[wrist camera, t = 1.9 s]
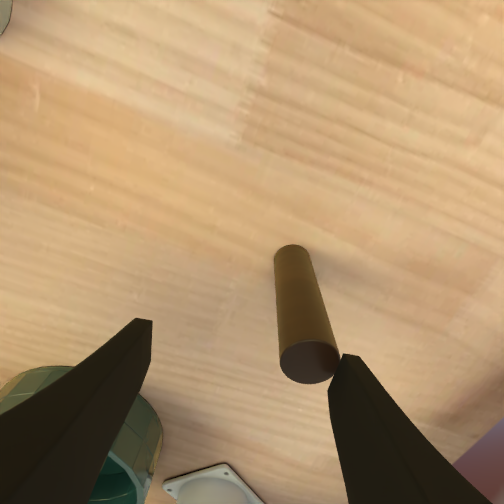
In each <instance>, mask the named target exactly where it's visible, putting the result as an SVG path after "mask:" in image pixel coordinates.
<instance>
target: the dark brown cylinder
mask: <svg viewBox="0 0 504 504" xmlns="http://www.w3.org/2000/svg"><path fill="white" fill-rule="evenodd" d="M274 271H275V289H276V306H277V323H278V341H279V358H280V367H281V369H282V371H283V373H284V374H285V375H286V376H287V377H288V378H290V379H291V380H293V381H295V382H298V383H302V384H316V383H320V382H323V381H326V380H328V379H329V378H331V377H332V376H333V375H334V374H335V372H336V369H337V367H338V365H339V362H340V354H339V351H338V348H337V344H336V341H335V338H334V335H333V331H332V328H331V325H330V321H329V318H328V315H327V312H326V308H325V305H324V302H323V298H322V295H321V292H320V289H319V285H318V282H317V279H316V276H315V272H314V269H313V266H312V262H311V259H310V256H309V253H308V252H307V251H306V250H305V249H304V248H303V247H301V246H298V245H287V246H284V247H283V248H281V249H280V250H279V251H278V252H277V253H276V255H275V258H274Z"/></svg>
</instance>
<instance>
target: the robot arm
mask: <svg viewBox="0 0 504 504" xmlns="http://www.w3.org/2000/svg"><path fill="white" fill-rule="evenodd" d="M152 323H153V321H152V320H146V319H140V318H135V319H133V320H132V321H131V322H130V323H129V324H128V325H126V326H125V327H124V328H123V329H122V330H121V331H119V332H118V333H117V334H116V335H115V336H114V337H112V338H111V339H110V340H109V341H108V342H106V343H105V344H104V345H103V346H101V347H100V348H99V349H98V350H96V351H95V352H94V353H93V354H91V355H90V356H89V357H88V358H86V359H85V360H84V361H82V362H81V363H79V364H78V365H77V366H75V367H74V368H73V369H71V370H70V371H68V372H67V373H66V374H64V375H63V376H62V377H60V378H59V379H57V380H56V381H54V382H53V383H51V384H50V385H48V386H47V387H45V388H44V389H42V390H41V391H39V392H37V393H36V394H34V395H33V396H31V397H29V398H28V399H26V400H25V401H23V402H21V403H20V404H18V405H16V406H14V407H13V408H11V409H9V410H8V411H6V412H4V413H2V414H1V415H0V504H87V503H88V501H89V498H90V496H91V493H92V491H93V488H94V486H95V483H96V481H97V478H98V476H99V473H100V471H101V468H102V466H103V464H104V462H105V459H106V457H107V455H108V453H109V451H110V449H111V447H112V445H113V443H114V441H115V439H116V437H117V435H118V433H119V431H120V429H121V427H122V425H123V423H124V421H125V419H126V417H127V415H128V413H129V411H130V409H131V407H132V405H133V403H134V401H135V399H136V397H137V395H138V393H139V391H140V389H141V386H142V384H143V381H144V378H145V376H146V373H147V370H148V367H149V365H150V362H151V345H152ZM327 391H328V402H329V412H330V420H331V424H332V429H333V433H334V438H335V443H336V447H337V451H338V456H339V460H340V465H341V469H342V473H343V478H344V482H345V486H346V492H347V497H348V502H349V504H492V503H491V502H490V501H489V500H488V499H487V498H486V497H484V496H483V495H482V494H481V493H480V492H479V491H478V490H477V489H476V488H475V487H473V486H472V484H470V483H469V482H468V481H467V480H466V479H465V478H464V477H463V476H462V475H461V474H460V473H459V472H458V471H457V470H456V469H455V468H454V467H453V466H452V465H451V464H450V463H449V462H448V461H447V460H446V459H445V458H444V457H443V456H442V455H441V454H440V453H439V452H438V451H437V450H436V449H435V447H434V446H433V445H432V444H431V443H430V442H429V441H428V440H427V439H426V438H425V437H424V435H423V434H422V433H421V432H420V431H419V430H418V429H417V427H416V426H415V425H414V424H413V423H412V422H411V421H410V419H409V418H408V417H407V416H406V415H405V414H404V412H403V411H402V410H401V409H400V407H399V406H398V405H397V404H396V403H395V401H394V400H393V399H392V398H391V396H390V395H389V394H388V393H387V391H386V390H385V389H384V387H383V386H382V385H381V384H380V382H379V381H378V380H377V378H376V377H375V376H374V374H373V373H372V372H371V371H370V369H369V368H368V367H367V365H366V364H365V363H364V362H363V360H362V359H361V358H360V357H359V356H355V355H350V354H344V353H343V355H342V358H341V360H340V362H339V365H338V367H337V369H336V372H335V374H334V376H333V379H332V381H331V383H330V386H329V388H328V390H327ZM162 488H163V489H164V490H165V491H166V492H167V493H169V494H170V495H171V496H172V497H173V498H174V499H175V500H177V503H176V504H264V503H263V502H262V501H261V500H260V499H259V498H258V497H257V496H256V494H255V493H254V492H253V491H252V490H251V489H250V488H249V487H248V486H247V485H246V484H245V483H244V482H243V481H242V480H241V479H240V478H239V477H238V475H237V474H236V473H235V472H234V471H233V470H232V469H231V468H230V467H229V466H228V465H226V464H221V465H217V466H214V467H211V468H207V469H204V470H201V471H197V472H194V473H191V474H187V475H184V476H181V477H177V478H174V479H171V480H167V481H165V482H163V485H162Z"/></svg>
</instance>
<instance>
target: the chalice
mask: <svg viewBox="0 0 504 504" xmlns="http://www.w3.org/2000/svg"><path fill="white" fill-rule="evenodd" d="M11 6H12V0H0V35H1V34H2V32H3V31H4V29H5V27H6V25H7V24H8V22H9V18H10V12H11Z"/></svg>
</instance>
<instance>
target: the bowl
mask: <svg viewBox="0 0 504 504" xmlns="http://www.w3.org/2000/svg"><path fill="white" fill-rule="evenodd" d="M73 368H74V367H66V366H49V367H40V368H36V369H32V370H29V371H26V372H24V373H21V374H20V375H18V376H16V377H14V378H13V379H12V380H11V381H10V382H8V383H7V384H6V385H5V386H4V387H3V388H2V389H1V390H0V415H1V414H2V413H4V412H6V411H8V410H9V409H11V408H13V407H14V406H16V405H18V404H20V403H21V402H23V401H25V400H26V399H28V398H29V397H31V396H33V395H34V394H36V393H37V392H39V391H41V390H42V389H44V388H45V387H47V386H48V385H50V384H51V383H53V382H54V381H56V380H57V379H59V378H60V377H62V376H63V375H64V374H66V373H67V372H68V371H70V370H71V369H73ZM162 440H163V431H162V426H161V423H160V420H159V418H158V416H157V414H156V413H155V411H154V410H153V408H152V407H151V406H150V405H149V404H148V403H147V401H146V400H144V399H143V398H142V397H141V396H140V395H139V394H138V395H137V397H136V399H135V401H134V403H133V405H132V407H131V409H130V411H129V413H128V415H127V417H126V419H125V421H124V423H123V425H122V427H121V429H120V431H119V433H118V435H117V437H116V439H115V441H114V443H113V445H112V447H111V449H110V451H109V453H108V455H107V458H106V460H105V462H104V465H103V467H102V469H101V471H100V473H99V476H98V478H97V481H96V483H95V486H94V488H93V491H92V493H91V496H90V498H89V501H88V503H87V504H144V503H145V500H146V497H147V493H148V490H149V487H150V484H151V480H152V477H153V474H154V471H155V467H156V464H157V461H158V458H159V454H160V451H161V445H162Z"/></svg>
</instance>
